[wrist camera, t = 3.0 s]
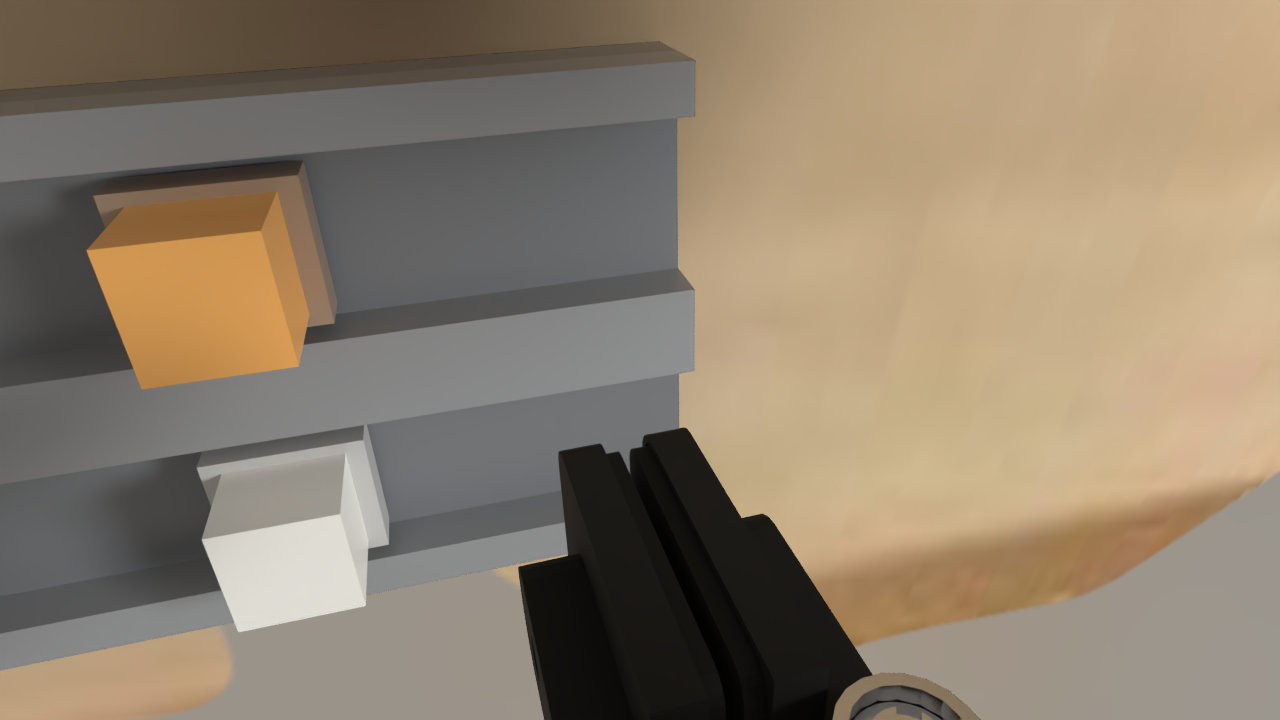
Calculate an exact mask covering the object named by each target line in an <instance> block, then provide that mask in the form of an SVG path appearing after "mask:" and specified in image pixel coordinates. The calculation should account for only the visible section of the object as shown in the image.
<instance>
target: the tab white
mask: <svg viewBox="0 0 1280 720" xmlns="http://www.w3.org/2000/svg"><path fill="white" fill-rule="evenodd" d="M197 471H198V473H199V476H200V479H201V481H202V484H203V486H204V489H205V492H206V494H207V497H208V500H209V502H210V505H211V510H210V513H209V517H208V520H207V523H206V527H205V530H204V533H203V537H202V542H203V545H204V547H205V550H206V552H207V555H208V557H209V560H210V562H211V565H212V567H213V570H214V572H215V575H216V577H217V580H218V582H219V585H220V587H221V590H222V592H223V595H224V597H225V600H226V602H227V605H228V607H229V610H230V612H231V615H232V617H233V620H234V622H235V624H236V627H237V630H238V632H242V631H247V630H251V629H257V628H261V627H267V626H271V625H276V624H281V623H286V622H290V621H295V620H300V619H305V618H310V617H314V616H319V615H324V614H329V613H334V612H338V611H343V610H348V609H353V608H357V607H363V606H366V586H367V562H368V549H369V548H374V547H379V546H384V545H389V515H388V510H387V506H386V502H385V498H384V494H383V490H382V485H381V481H380V477H379V473H378V469H377V465H376V460H375V456H374V452H373V448H372V444H371V440H370V436H369V431H368V427H367V425H361V426H355V427H349V428H343V429H336V430H330V431H324V432H318V433H312V434H306V435H300V436H294V437H288V438H281V439H275V440H269V441H263V442H257V443H251V444H245V445H239V446H232V447H226V448H220V449H214V450H208V451H202V453H201V456H200V459H199V462H198V465H197Z"/></svg>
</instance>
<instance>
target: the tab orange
mask: <svg viewBox="0 0 1280 720" xmlns="http://www.w3.org/2000/svg"><path fill="white" fill-rule="evenodd" d="M93 197H94V200H95V202H96V205H97V208H98V210H99V213H100V216H101V218H102V221H103V223H104V226H105V230H104V231H103V232H102V233H101V234H100V236H99V237H98V238H97V239H96V240H95V241H94V242H93V243H92V245H91V246H90V247H89V248H88V249H87V250H86V251H87V253H88V256H89V258H90V261H91V263H92V266H93V268H94V271H95V273H96V276H97V278H98V281H99V283H100V286H101V288H102V291H103V293H104V296H105V298H106V301H107V303H108V306H109V309H110V311H111V314H112V316H113V319H114V321H115V324H116V326H117V329H118V331H119V334H120V336H121V339H122V341H123V344H124V346H125V349H126V351H127V354H128V356H129V359H130V361H131V364H132V366H133V369H134V371H135V374H136V376H137V379H138V381H139V384H140V386H141V389H149V388H156V387H163V386H170V385H176V384H183V383H190V382H197V381H204V380H211V379H217V378H224V377H231V376H238V375H245V374H251V373H258V372H265V371H272V370H279V369H285V368H292V367H299V363H300V359H301V354H302V349H303V344H304V339H305V334H306V329H307V327H312V326H319V325H327V324H334V323H335V316H336V309H337V298H336V294H335V290H334V286H333V282H332V278H331V273H330V269H329V265H328V261H327V257H326V253H325V249H324V244H323V240H322V236H321V232H320V228H319V224H318V219H317V215H316V211H315V207H314V203H313V199H312V195H311V190H310V186H309V182H308V178H307V174H306V170H305V165H304V161H303V160H301V161H290V162H280V163H270V164H259V165H249V166H239V167H228V168H218V169H208V170H197V171H187V172H177V173H166V174H156V175H146V176H135V177H125V178H115V179H110V180H109V181H108V182H107V183H106V184H105V185H103V186H102V187H101V188H100V189H99V190H98V191H97V192H96V193H95V194H94V195H93Z"/></svg>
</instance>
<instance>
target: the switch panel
mask: <svg viewBox="0 0 1280 720" xmlns="http://www.w3.org/2000/svg"><path fill="white" fill-rule="evenodd" d="M692 116H695V60H693V59H692V58H690V57H688V56H686V55H684V54H682V53H680V52H678V51H676V50H675V49H673V48H671V47H669V46H667V45H665V44H663V43H661V42H645V43H632V44H618V45H605V46H592V47H578V48H565V49H551V50H538V51H524V52H511V53H498V54H484V55H471V56H457V57H444V58H430V59H417V60H404V61H390V62H377V63H363V64H350V65H336V66H323V67H310V68H296V69H283V70H269V71H256V72H242V73H229V74H215V75H202V76H189V77H175V78H162V79H148V80H135V81H121V82H108V83H95V84H81V85H68V86H54V87H41V88H27V89H14V90H1V91H0V670H5V669H10V668H15V667H20V666H25V665H29V664H34V663H39V662H44V661H49V660H54V659H59V658H63V657H68V656H73V655H78V654H83V653H88V652H93V651H98V650H102V649H107V648H112V647H117V646H122V645H127V644H132V643H136V642H141V641H146V640H151V639H156V638H161V637H166V636H171V635H175V634H180V633H185V632H190V631H195V630H200V629H205V628H209V627H214V626H219V625H224V624H229V623H234V620H233V617H232V615H231V612H230V610H229V607H228V605H227V602H226V600H225V597H224V595H223V592H222V590H221V587H220V585H219V582H218V580H217V577H216V575H215V572H214V570H213V567H212V565H211V562H210V560H209V557H208V555H207V552H206V550H205V547H204V545H203V542H202V537H203V533H204V530H205V527H206V523H207V520H208V517H209V513H210V510H211V505H210V502H209V500H208V497H207V494H206V492H205V489H204V486H203V484H202V481H201V479H200V476H199V473H198V471H197V465H198V462H199V459H200V456H201V453H202V451H208V450H214V449H220V448H226V447H232V446H239V445H245V444H251V443H257V442H263V441H269V440H275V439H281V438H288V437H294V436H300V435H306V434H312V433H318V432H324V431H330V430H336V429H343V428H349V427H355V426H361V425H367V427H368V431H369V436H370V440H371V444H372V448H373V452H374V456H375V460H376V465H377V469H378V473H379V477H380V481H381V485H382V490H383V494H384V498H385V502H386V506H387V510H388V515H389V545H384V546H379V547H374V548H369V549H368V562H367V586H366V595H370V594H375V593H380V592H385V591H390V590H394V589H399V588H404V587H409V586H414V585H419V584H424V583H428V582H433V581H438V580H443V579H448V578H453V577H458V576H462V575H467V574H472V573H477V572H482V571H487V570H492V569H497V568H502V567H506V566H511V565H516V564H521V563H526V562H531V561H536V560H540V559H545V558H550V557H555V556H560V555H565V554H568V550H567V540H566V531H565V521H564V511H563V501H562V492H561V482H560V472H559V461H558V453H559V451H562V450H567V449H573V448H578V447H583V446H589V445H594V444H599V443H600V444H602V446H603V448H604V450H605V452H606V454H607V453H612V452H620V454H621V455H622V458H623V460H624V462H625V464H626V466H627V469H628V471H629V473H630V459H629V454H630V450H631V449H633V448H639V447H642V441H643V437H644V436H645V435H647V434H653V433H658V432H663V431H669V430H674V429H679V373H685V372H691V371H694V314H695V289H694V288H693V287H692V286H691V284H690V283H689V282H688V280H687V279H686V278H685V277H684V275H683V274H682V273H681V271H680V270H679V269H678V222H677V118H681V117H692ZM301 160H303V161H304V165H305V170H306V174H307V178H308V182H309V186H310V190H311V195H312V199H313V203H314V207H315V211H316V215H317V219H318V224H319V228H320V232H321V236H322V240H323V244H324V249H325V253H326V257H327V261H328V265H329V269H330V273H331V278H332V282H333V286H334V290H335V294H336V298H337V309H336V316H335V323H334V324H327V325H319V326H312V327H307V329H306V334H305V339H304V344H303V349H302V354H301V359H300V363H299V367H292V368H285V369H279V370H272V371H265V372H258V373H251V374H245V375H238V376H231V377H224V378H217V379H211V380H204V381H197V382H190V383H183V384H176V385H170V386H163V387H156V388H149V389H141V386H140V384H139V381H138V379H137V376H136V374H135V371H134V369H133V366H132V364H131V361H130V359H129V356H128V354H127V351H126V349H125V346H124V344H123V341H122V339H121V336H120V334H119V331H118V329H117V326H116V324H115V321H114V319H113V316H112V314H111V311H110V309H109V306H108V303H107V301H106V298H105V296H104V293H103V291H102V288H101V286H100V283H99V281H98V278H97V276H96V273H95V271H94V268H93V266H92V263H91V261H90V258H89V256H88V253H87V251H86V250H87V249H88V248H89V247H90V246H91V245H92V243H93V242H94V241H95V240H96V239H97V238H98V237H99V236H100V234H101V233H102V232H103V231H104V230H105V226H104V223H103V221H102V218H101V216H100V213H99V210H98V208H97V205H96V202H95V200H94V197H93V195H94V194H95V193H96V192H97V191H98V190H99V189H100V188H101V187H102V186H103V185H105V184H106V183H107V182H108V181H109V180H110V179H115V178H125V177H135V176H146V175H156V174H166V173H177V172H187V171H197V170H208V169H218V168H228V167H239V166H249V165H259V164H270V163H280V162H290V161H301Z"/></svg>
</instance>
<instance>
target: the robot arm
mask: <svg viewBox="0 0 1280 720" xmlns="http://www.w3.org/2000/svg"><path fill="white" fill-rule="evenodd" d="M629 459H630V473H629V471H628V469H627V466H626V464H625V462H624V460H623V458H622V455H621V454H620V452H612V453H607V454H606V452H605V450H604V448H603V446H602V444H600V443H599V444H594V445H589V446H583V447H578V448H573V449H567V450H562V451H559V453H558V461H559V472H560V482H561V492H562V501H563V511H564V521H565V531H566V540H567V550H568V556H566V557H561V558H557V559H552V560H547V561H543V562H538V563H534V564H529V565H524V566H520V567H518V570H519V579H520V586H521V593H522V599H523V607H524V613H525V620H526V626H527V632H528V638H529V644H530V650H531V655H532V660H533V666H534V670H535V676H536V681H537V686H538V691H539V696H540V701H541V706H542V710H543V715H544V720H981V719H980V718H979V717H978V716H977V715H976V714H975V713H974V712H973V711H972V710H971V709H970V708H969V707H968V706H967V705H966V704H965V703H963V702H962V701H961V700H960V699H959V698H958V697H956V696H955V695H954V694H952V693H951V692H950V691H949V690H947V689H945V688H943V687H941V686H939V685H937V684H935V683H933V682H932V681H930V680H927V679H924V678H920V677H917V676H913V675H909V674H905V673H880V674H876V675H872V673H871V672H870V670H869V669H868V667H867V666H866V664H865V662H864V661H863V659H862V658H861V656H860V655H859V653H858V652H857V650H856V649H855V647H854V646H853V644H852V642H851V641H850V639H849V638H848V636H847V635H846V633H845V632H844V630H843V629H842V627H841V626H840V624H839V622H838V621H837V619H836V618H835V616H834V615H833V613H832V612H831V610H830V609H829V607H828V606H827V604H826V602H825V601H824V599H823V598H822V596H821V595H820V593H819V592H818V590H817V589H816V587H815V586H814V584H813V582H812V581H811V579H810V578H809V576H808V575H807V573H806V572H805V570H804V569H803V567H802V566H801V564H800V562H799V561H798V559H797V558H796V556H795V555H794V553H793V552H792V550H791V549H790V547H789V546H788V544H787V542H786V541H785V539H784V538H783V536H782V535H781V533H780V532H779V530H778V529H777V527H776V526H775V524H774V523H773V522H772V520H771V519H770V518H769V517H768V516H766V515H764V514H759V515H754V516H750V517H745V518H741V516H740V515H739V513H738V511H737V510H736V508H735V506H734V505H733V503H732V502H731V500H730V498H729V497H728V495H727V493H726V492H725V490H724V488H723V487H722V485H721V483H720V482H719V480H718V478H717V477H716V475H715V473H714V472H713V470H712V468H711V467H710V465H709V463H708V462H707V460H706V458H705V457H704V455H703V453H702V452H701V450H700V448H699V447H698V445H697V443H696V442H695V440H694V438H693V437H692V435H691V433H690V432H689V431H688V429H687V428H679V429H674V430H669V431H663V432H658V433H653V434H647V435H645V436H644V437H643V441H642V447H639V448H633V449H631V450H630V454H629Z"/></svg>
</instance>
